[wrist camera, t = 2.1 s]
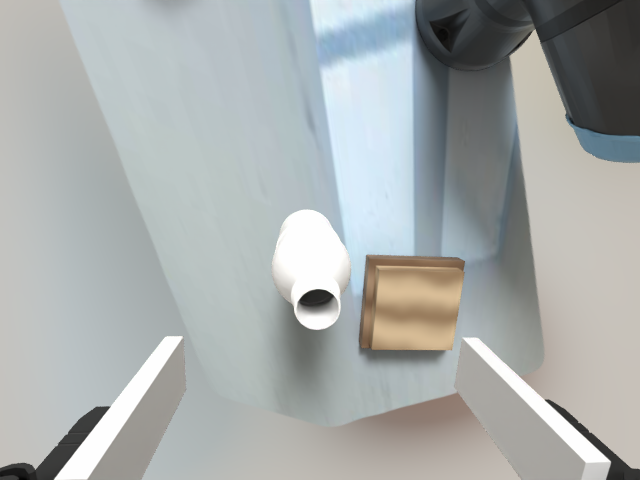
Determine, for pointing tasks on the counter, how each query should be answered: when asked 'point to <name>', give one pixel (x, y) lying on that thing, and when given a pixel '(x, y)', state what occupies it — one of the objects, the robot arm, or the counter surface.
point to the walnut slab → (393, 261)
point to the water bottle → (311, 268)
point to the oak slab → (415, 307)
